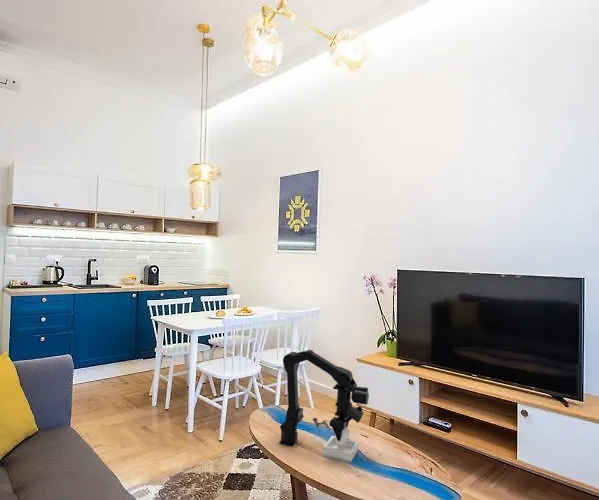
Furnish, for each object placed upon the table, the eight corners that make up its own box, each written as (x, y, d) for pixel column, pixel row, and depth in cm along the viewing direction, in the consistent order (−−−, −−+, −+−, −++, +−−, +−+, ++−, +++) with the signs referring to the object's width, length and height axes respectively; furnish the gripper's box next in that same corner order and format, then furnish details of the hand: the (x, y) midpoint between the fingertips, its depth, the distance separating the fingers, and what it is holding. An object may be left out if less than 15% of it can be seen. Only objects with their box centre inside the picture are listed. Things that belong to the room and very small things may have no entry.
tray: (323, 456, 174) (323, 446, 174) (331, 444, 185) (332, 435, 186) (350, 463, 170) (351, 453, 170) (358, 450, 181) (358, 441, 181)
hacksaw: (312, 419, 214) (312, 417, 214) (331, 419, 216) (331, 416, 216) (323, 440, 190) (323, 437, 190) (345, 440, 192) (345, 436, 192)
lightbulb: (338, 456, 173) (340, 430, 173) (330, 449, 179) (332, 424, 179) (351, 453, 176) (352, 428, 176) (343, 447, 182) (344, 422, 182)
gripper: (356, 411, 166) (354, 450, 166) (367, 397, 184) (365, 433, 183) (330, 405, 171) (328, 444, 170) (342, 393, 188) (340, 427, 188)
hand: (341, 437), depth 178 cm, fingers open, 8 cm apart
